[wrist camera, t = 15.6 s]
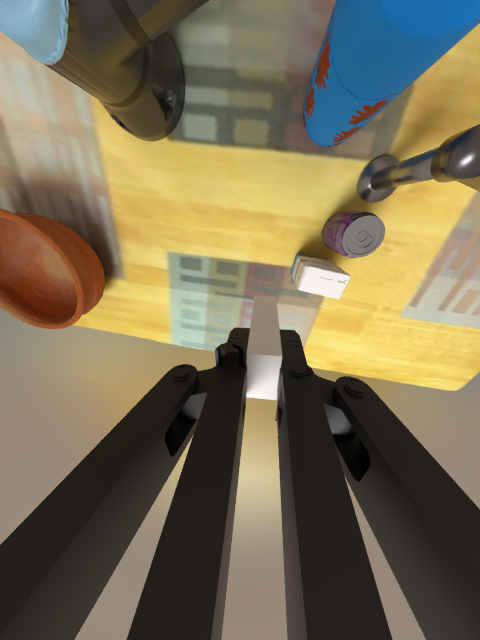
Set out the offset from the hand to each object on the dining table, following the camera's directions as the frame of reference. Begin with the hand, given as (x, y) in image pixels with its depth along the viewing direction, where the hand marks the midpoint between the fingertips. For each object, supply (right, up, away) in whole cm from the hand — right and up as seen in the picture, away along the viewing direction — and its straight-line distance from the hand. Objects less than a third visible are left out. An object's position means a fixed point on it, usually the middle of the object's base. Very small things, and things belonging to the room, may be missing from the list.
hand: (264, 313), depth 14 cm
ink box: (+15, +12, +31) cm, 37 cm away
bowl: (-44, +15, +38) cm, 60 cm away
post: (+24, +26, +22) cm, 42 cm away
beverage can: (+19, +19, +27) cm, 38 cm away
